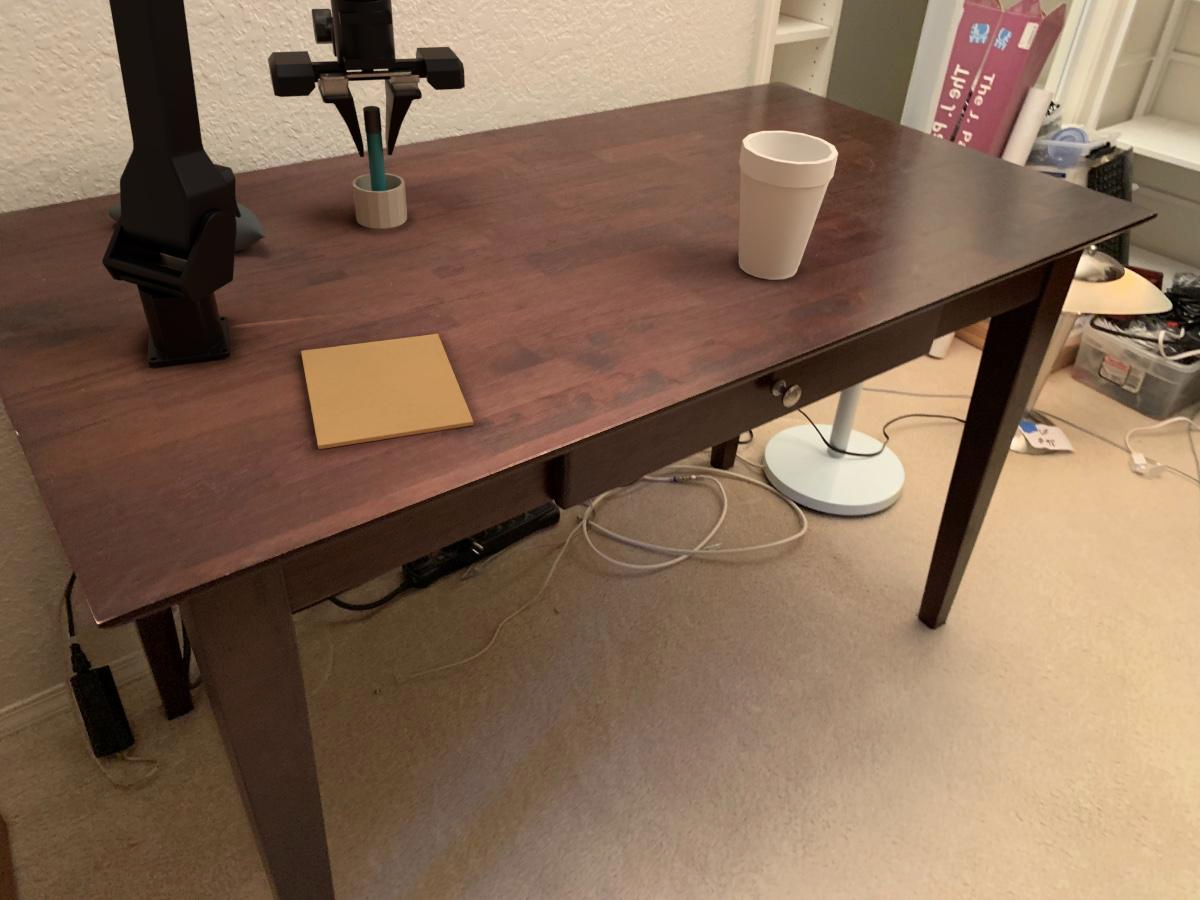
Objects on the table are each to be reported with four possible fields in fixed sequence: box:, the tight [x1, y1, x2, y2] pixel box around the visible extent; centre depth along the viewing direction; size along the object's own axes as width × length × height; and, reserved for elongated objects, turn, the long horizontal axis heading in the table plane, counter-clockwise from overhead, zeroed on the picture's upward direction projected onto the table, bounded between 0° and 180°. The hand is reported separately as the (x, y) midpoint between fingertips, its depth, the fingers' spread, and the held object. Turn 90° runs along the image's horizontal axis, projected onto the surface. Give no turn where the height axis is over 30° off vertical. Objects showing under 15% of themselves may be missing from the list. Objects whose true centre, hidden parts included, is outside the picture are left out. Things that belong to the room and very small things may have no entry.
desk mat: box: [300, 333, 474, 450], centre depth 76 cm, size 14×12×1 cm
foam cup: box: [738, 130, 839, 281], centre depth 95 cm, size 10×9×13 cm
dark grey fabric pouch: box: [107, 202, 266, 253], centre depth 94 cm, size 20×5×5 cm, turn 77°
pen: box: [362, 105, 387, 191], centre depth 98 cm, size 2×2×12 cm
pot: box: [351, 172, 408, 230], centre depth 101 cm, size 6×6×4 cm
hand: (375, 154), depth 97 cm, fingers open, 3 cm apart
